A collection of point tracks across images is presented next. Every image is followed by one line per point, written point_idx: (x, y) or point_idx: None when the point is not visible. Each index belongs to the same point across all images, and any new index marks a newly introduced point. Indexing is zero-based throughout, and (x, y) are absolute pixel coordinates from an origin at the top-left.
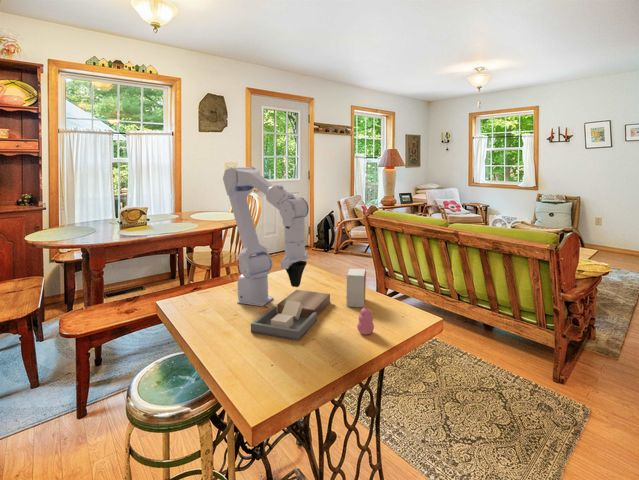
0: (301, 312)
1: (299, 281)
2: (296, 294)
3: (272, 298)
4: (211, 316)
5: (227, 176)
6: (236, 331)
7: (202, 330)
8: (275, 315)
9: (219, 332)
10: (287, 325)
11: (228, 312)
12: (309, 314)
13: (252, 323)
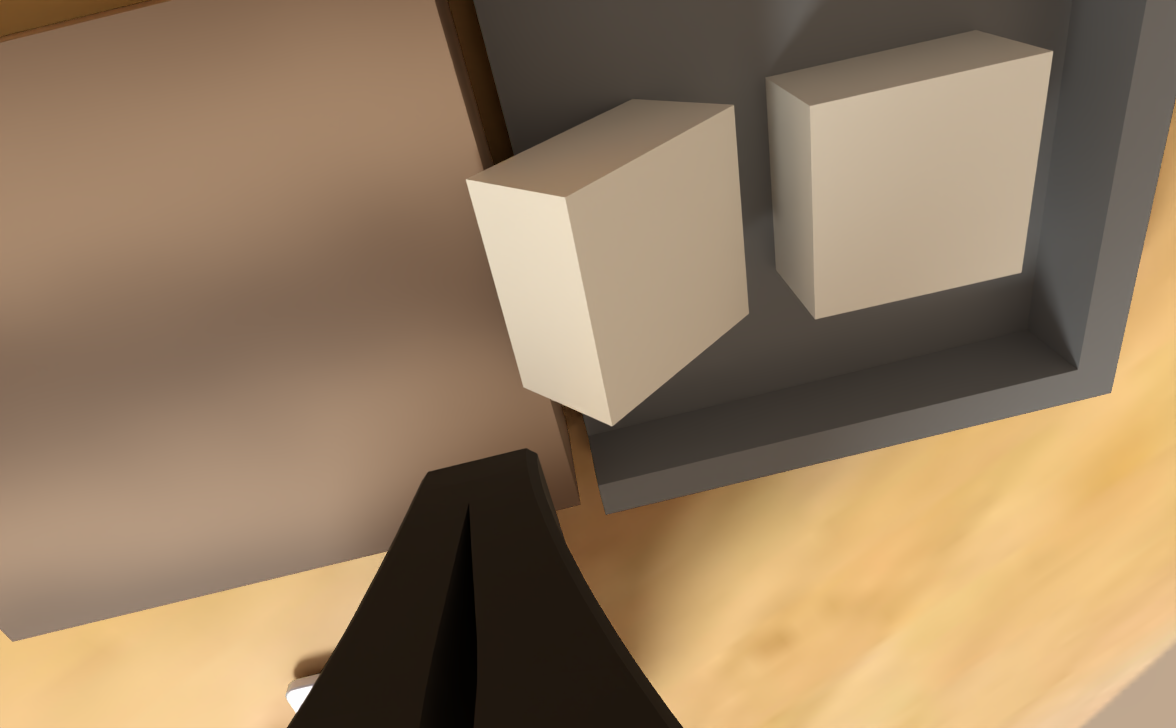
0: (489, 165)
1: (484, 534)
2: (139, 545)
3: (310, 679)
4: (871, 718)
5: None
6: (1058, 443)
7: (1096, 611)
8: (651, 402)
9: (1103, 518)
10: (961, 49)
11: (760, 699)
12: (449, 27)
13: (1104, 381)
